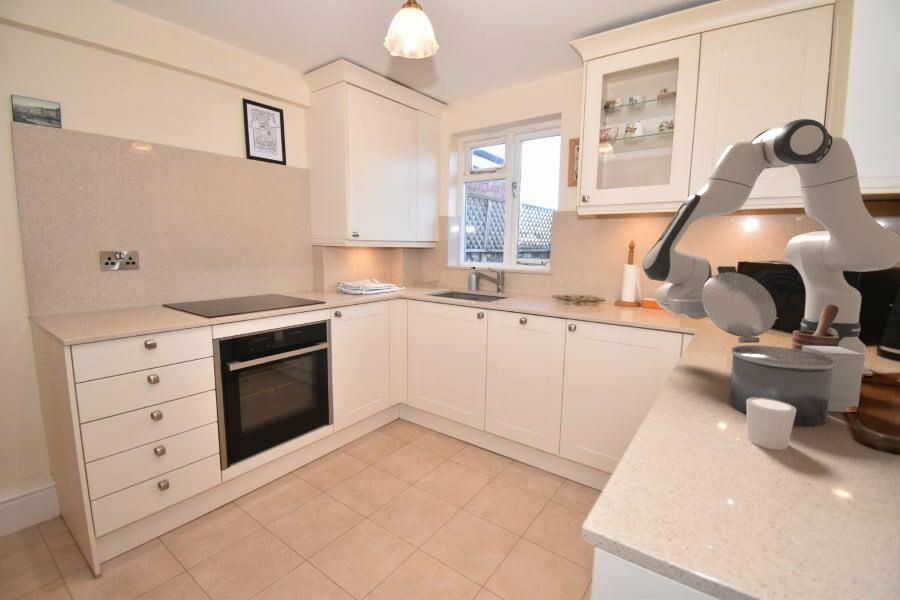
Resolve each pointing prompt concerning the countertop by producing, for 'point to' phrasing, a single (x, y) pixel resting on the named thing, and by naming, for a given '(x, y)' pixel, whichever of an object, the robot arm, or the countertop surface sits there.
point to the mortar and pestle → (818, 331)
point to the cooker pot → (782, 380)
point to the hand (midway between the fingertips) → (728, 310)
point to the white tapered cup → (769, 422)
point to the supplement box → (842, 376)
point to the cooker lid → (738, 304)
